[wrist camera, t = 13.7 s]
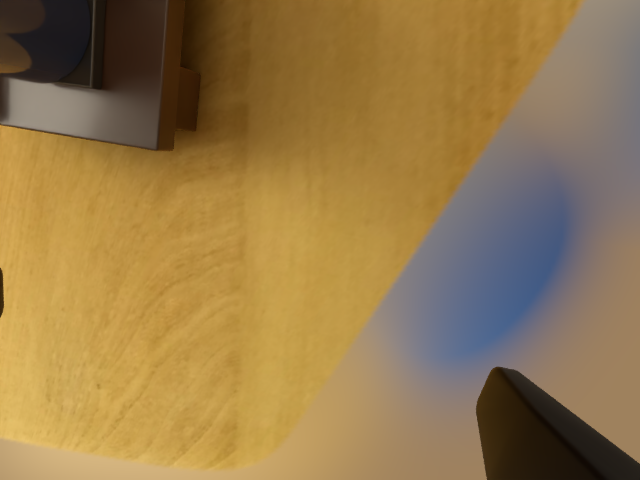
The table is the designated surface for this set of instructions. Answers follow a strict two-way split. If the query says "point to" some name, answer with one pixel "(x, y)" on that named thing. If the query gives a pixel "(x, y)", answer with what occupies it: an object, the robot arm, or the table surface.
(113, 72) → the wooden wall shelf
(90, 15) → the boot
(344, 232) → the table surface
